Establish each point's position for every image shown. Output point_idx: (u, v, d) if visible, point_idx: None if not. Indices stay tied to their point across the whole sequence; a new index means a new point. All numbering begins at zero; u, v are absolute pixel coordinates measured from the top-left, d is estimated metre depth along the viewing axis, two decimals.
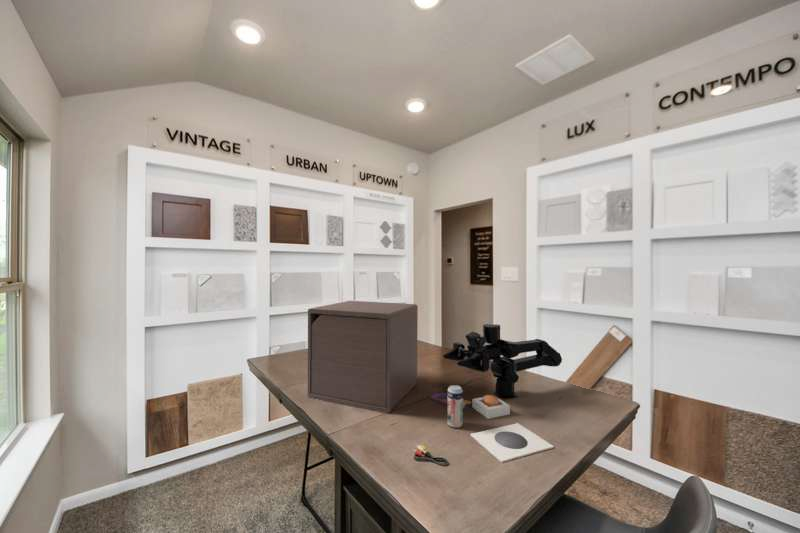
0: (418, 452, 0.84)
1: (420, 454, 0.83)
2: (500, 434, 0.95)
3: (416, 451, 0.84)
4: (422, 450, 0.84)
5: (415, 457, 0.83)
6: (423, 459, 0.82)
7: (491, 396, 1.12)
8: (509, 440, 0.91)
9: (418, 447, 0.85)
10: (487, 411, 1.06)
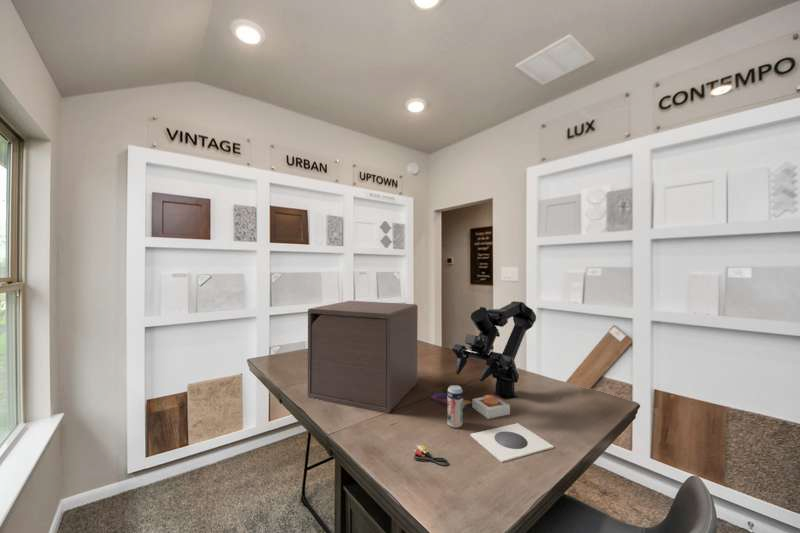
0: (418, 452, 0.84)
1: (420, 454, 0.83)
2: (500, 434, 0.95)
3: (416, 451, 0.84)
4: (422, 450, 0.84)
5: (415, 457, 0.83)
6: (423, 459, 0.82)
7: (491, 396, 1.12)
8: (509, 440, 0.91)
9: (418, 447, 0.85)
10: (487, 411, 1.06)
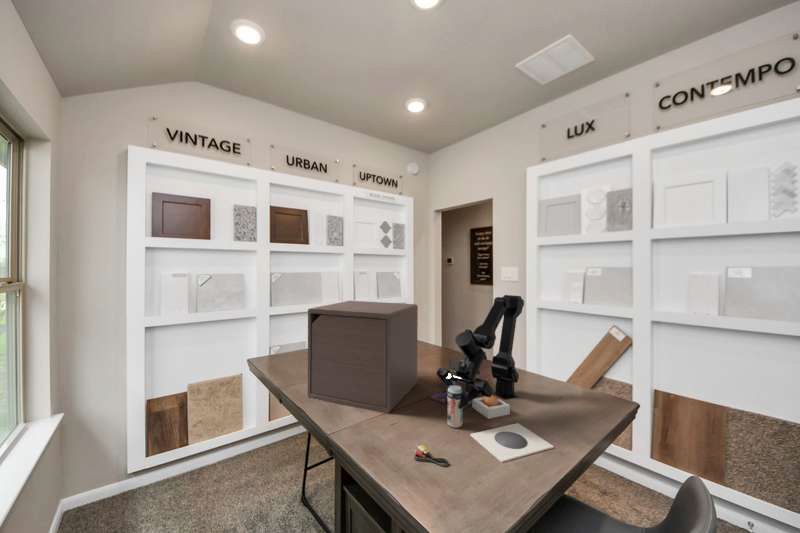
0: (419, 452, 0.83)
1: (421, 454, 0.83)
2: (500, 434, 0.95)
3: (417, 451, 0.84)
4: (423, 450, 0.84)
5: (416, 457, 0.83)
6: (423, 460, 0.82)
7: (491, 396, 1.12)
8: (509, 440, 0.91)
9: (419, 447, 0.85)
10: (487, 411, 1.06)
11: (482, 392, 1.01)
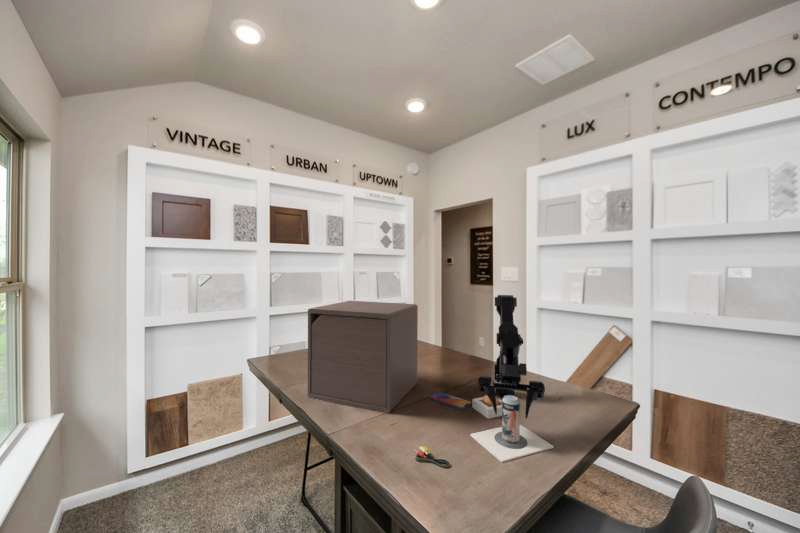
0: (420, 453, 0.83)
1: (422, 455, 0.83)
2: (500, 434, 0.95)
3: (418, 452, 0.84)
4: (424, 451, 0.84)
5: (417, 458, 0.82)
6: (425, 460, 0.82)
7: None
8: None
9: (420, 448, 0.85)
10: (487, 411, 1.06)
11: None
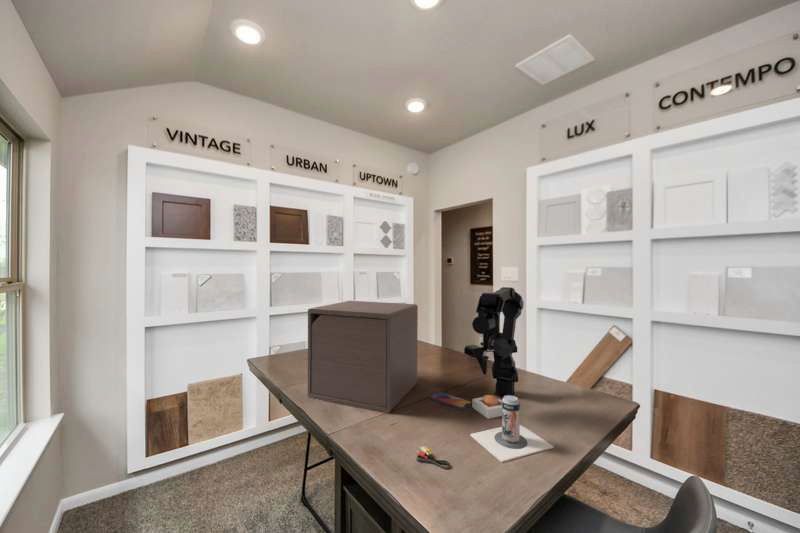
0: (421, 453, 0.83)
1: (423, 456, 0.83)
2: (500, 434, 0.95)
3: (419, 452, 0.83)
4: (425, 452, 0.84)
5: (418, 458, 0.82)
6: (426, 461, 0.82)
7: (491, 396, 1.12)
8: None
9: (422, 448, 0.85)
10: (487, 411, 1.06)
11: None
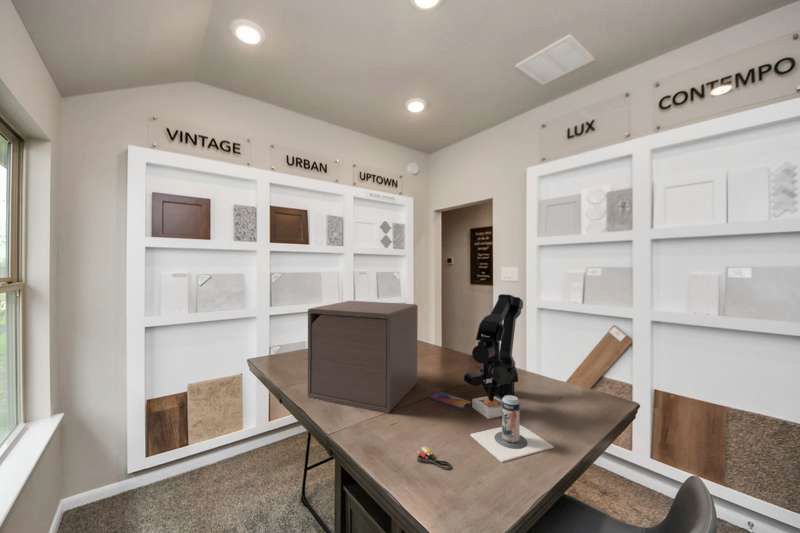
0: (422, 454, 0.83)
1: (423, 456, 0.82)
2: (500, 434, 0.95)
3: (420, 453, 0.83)
4: (426, 452, 0.83)
5: (418, 458, 0.82)
6: (426, 461, 0.81)
7: None
8: None
9: (422, 449, 0.84)
10: (487, 411, 1.06)
11: None
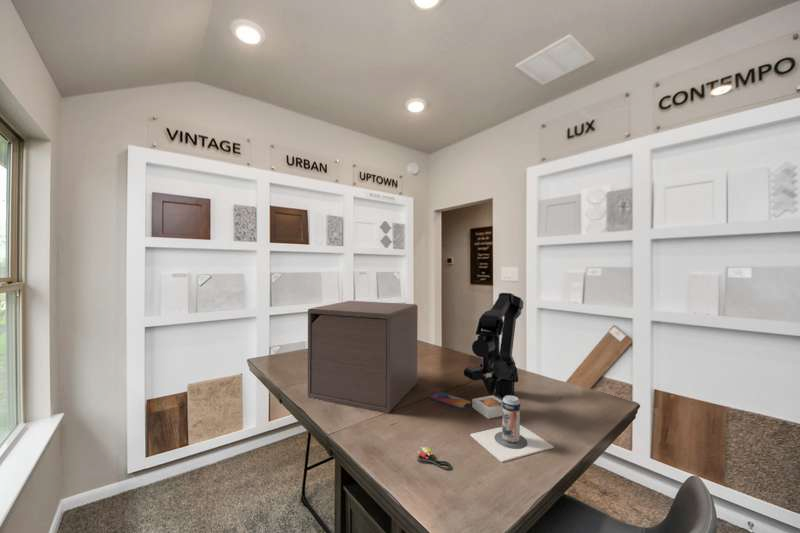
0: (422, 454, 0.83)
1: (424, 456, 0.82)
2: (500, 434, 0.95)
3: (420, 453, 0.83)
4: (426, 452, 0.83)
5: (418, 459, 0.82)
6: (426, 461, 0.81)
7: (491, 399, 1.12)
8: None
9: (423, 449, 0.84)
10: (487, 411, 1.06)
11: None
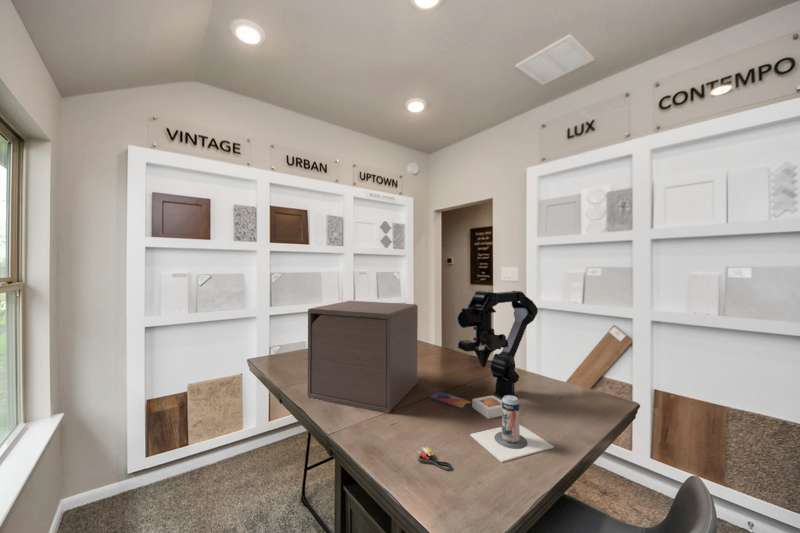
0: (423, 454, 0.83)
1: (424, 456, 0.82)
2: (500, 434, 0.95)
3: (421, 453, 0.83)
4: (427, 453, 0.83)
5: (419, 459, 0.82)
6: (427, 462, 0.81)
7: (491, 399, 1.12)
8: None
9: (423, 449, 0.84)
10: (487, 411, 1.06)
11: None
